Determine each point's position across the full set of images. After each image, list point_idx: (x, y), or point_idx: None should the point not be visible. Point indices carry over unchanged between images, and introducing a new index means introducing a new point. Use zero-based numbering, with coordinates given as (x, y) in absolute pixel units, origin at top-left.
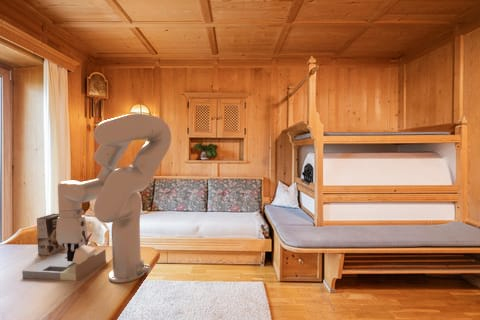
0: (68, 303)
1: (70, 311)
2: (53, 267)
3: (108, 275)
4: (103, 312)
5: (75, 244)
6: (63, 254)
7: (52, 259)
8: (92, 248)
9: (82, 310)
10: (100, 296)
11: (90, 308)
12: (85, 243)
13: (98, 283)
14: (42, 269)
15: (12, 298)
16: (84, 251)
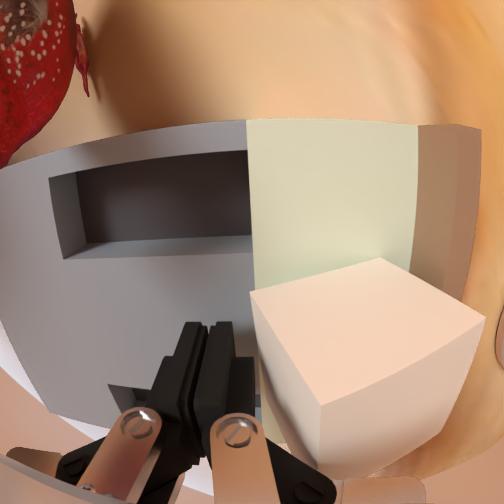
0: (402, 469)
1: (419, 475)
2: (133, 382)
3: (500, 355)
4: (484, 448)
5: (221, 485)
6: (3, 188)
7: (18, 287)
8: (460, 354)
9: (444, 464)
10: (477, 426)
11: (460, 455)
12: (423, 489)
13: (463, 388)
14: (113, 413)
15: (201, 484)
16: (405, 448)
